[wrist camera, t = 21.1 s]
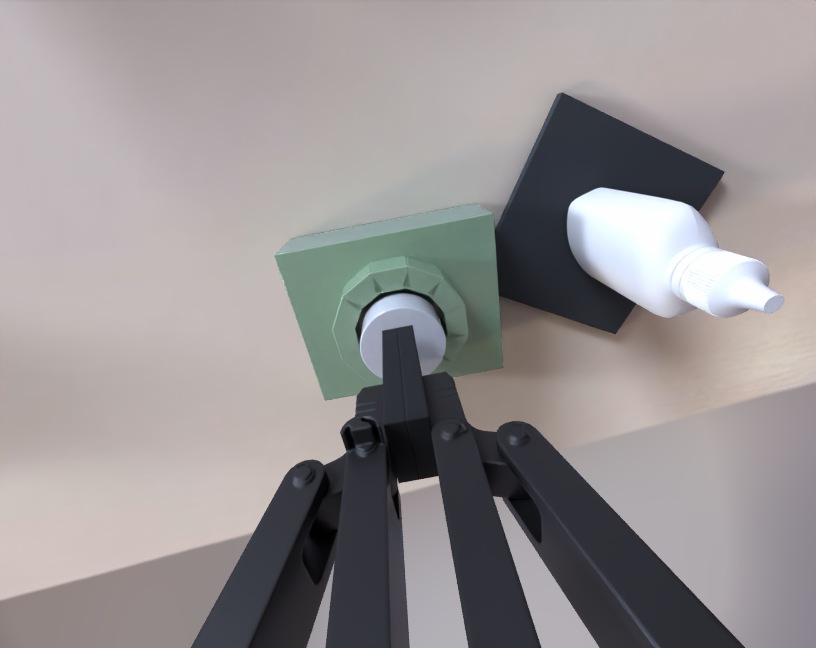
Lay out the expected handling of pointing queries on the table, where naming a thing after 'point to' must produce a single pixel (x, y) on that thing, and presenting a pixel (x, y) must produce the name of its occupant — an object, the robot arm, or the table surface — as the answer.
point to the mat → (569, 179)
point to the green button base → (396, 289)
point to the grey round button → (399, 314)
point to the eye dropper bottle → (663, 256)
